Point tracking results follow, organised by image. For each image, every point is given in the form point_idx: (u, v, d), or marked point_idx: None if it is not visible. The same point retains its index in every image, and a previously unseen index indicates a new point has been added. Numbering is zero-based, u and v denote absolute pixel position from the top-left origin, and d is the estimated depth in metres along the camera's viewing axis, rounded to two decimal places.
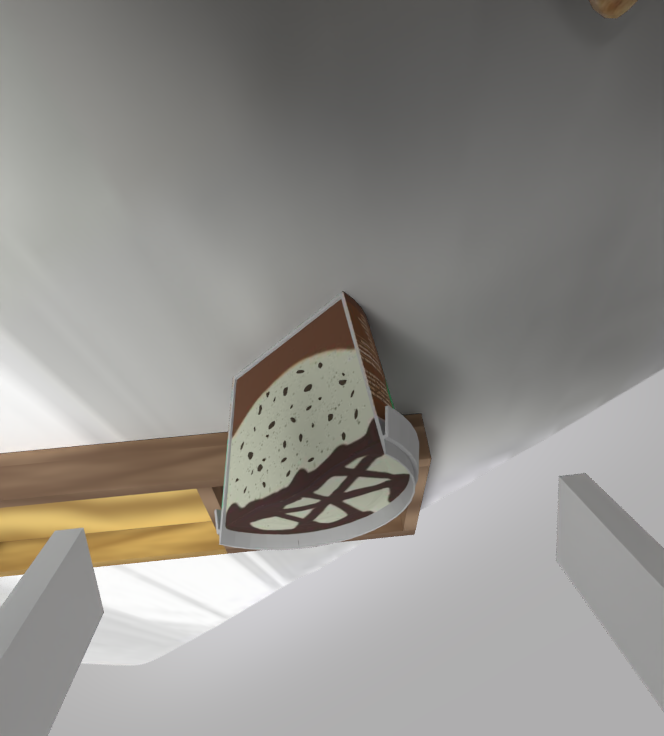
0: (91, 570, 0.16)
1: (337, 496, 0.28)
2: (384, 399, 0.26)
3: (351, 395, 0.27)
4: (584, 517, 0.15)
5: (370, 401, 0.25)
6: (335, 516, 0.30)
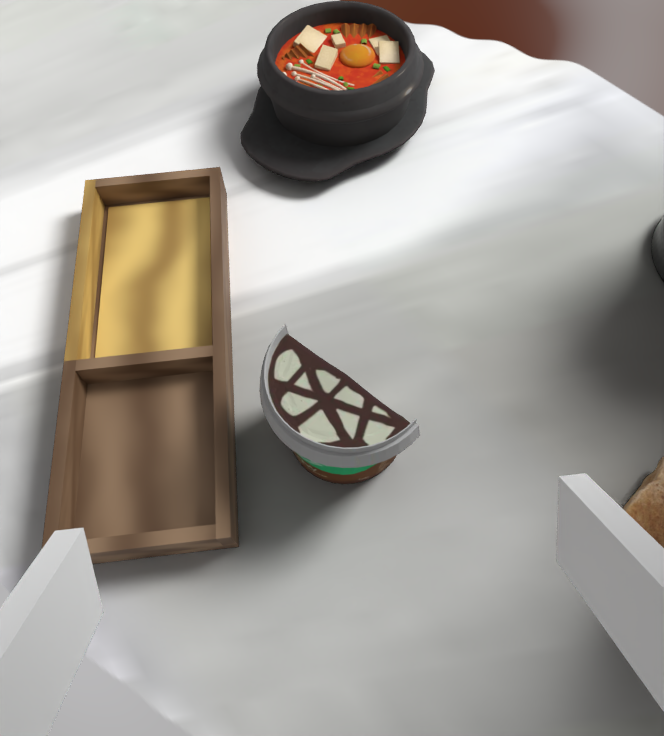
0: (91, 570, 0.16)
1: (330, 405, 0.38)
2: None
3: None
4: (584, 517, 0.15)
5: None
6: (292, 407, 0.38)
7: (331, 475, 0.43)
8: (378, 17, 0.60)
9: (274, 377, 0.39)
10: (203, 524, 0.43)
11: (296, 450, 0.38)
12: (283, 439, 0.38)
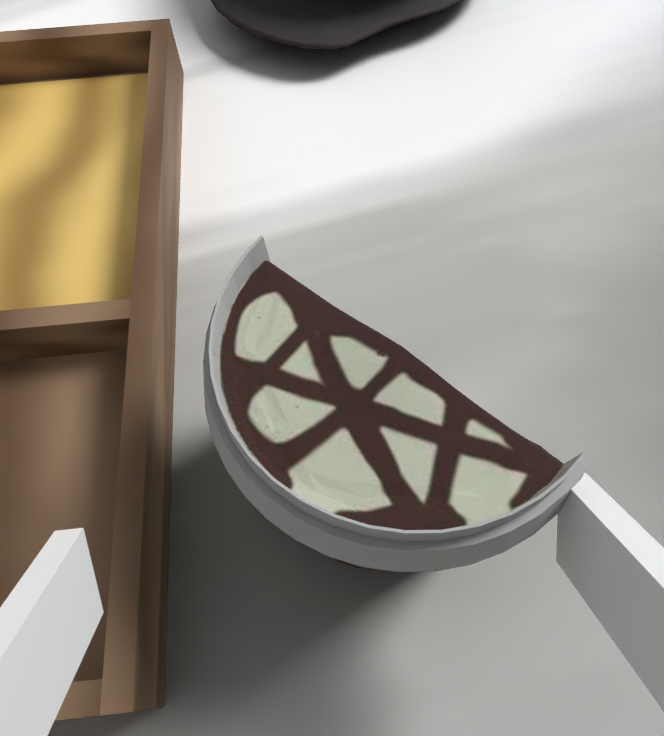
0: (91, 570, 0.16)
1: (365, 417, 0.16)
2: None
3: None
4: (584, 517, 0.15)
5: None
6: (274, 421, 0.16)
7: None
8: None
9: (235, 352, 0.17)
10: (90, 660, 0.21)
11: (284, 527, 0.16)
12: (253, 499, 0.16)
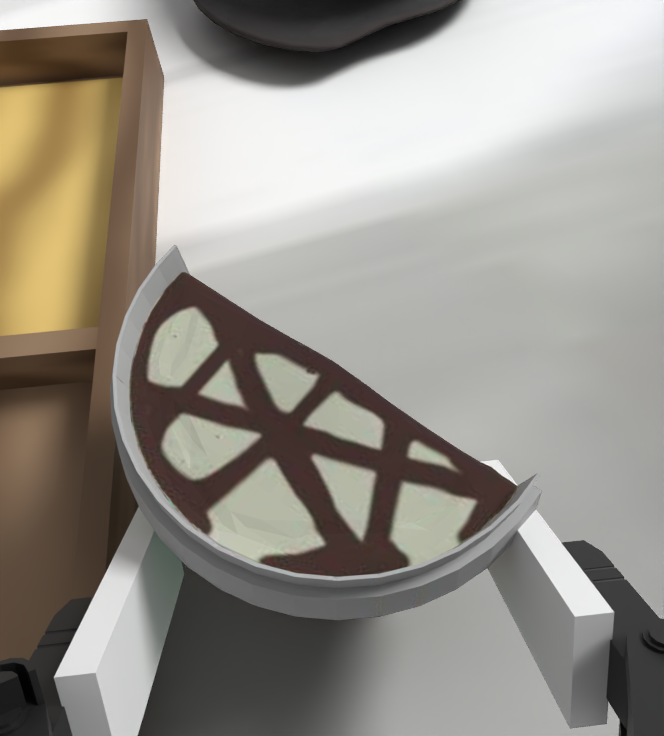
0: None
1: (295, 445, 0.14)
2: None
3: None
4: None
5: None
6: (191, 455, 0.14)
7: None
8: None
9: (147, 378, 0.15)
10: None
11: (206, 576, 0.14)
12: (170, 545, 0.14)
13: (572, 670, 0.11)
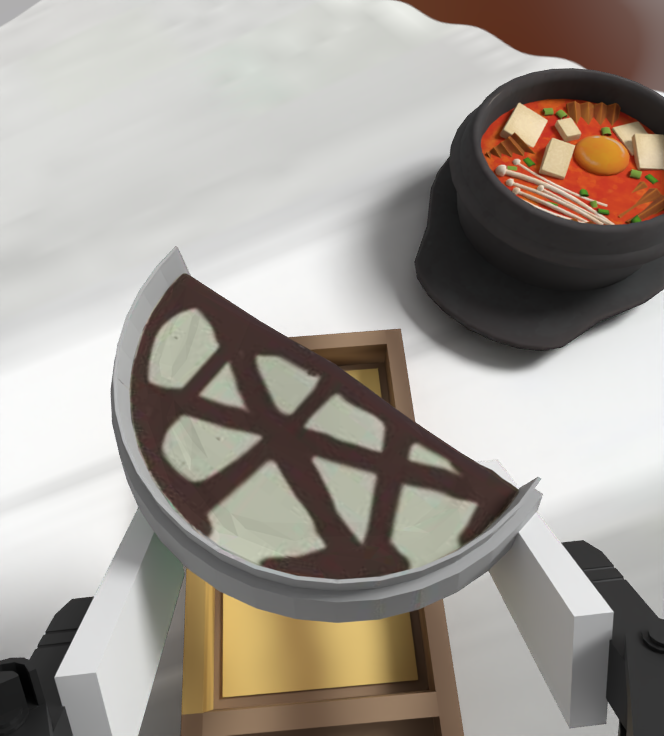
0: None
1: (296, 447, 0.14)
2: None
3: None
4: None
5: None
6: (192, 457, 0.14)
7: None
8: (629, 96, 0.40)
9: (148, 379, 0.15)
10: None
11: (206, 578, 0.14)
12: (170, 547, 0.14)
13: (571, 670, 0.11)
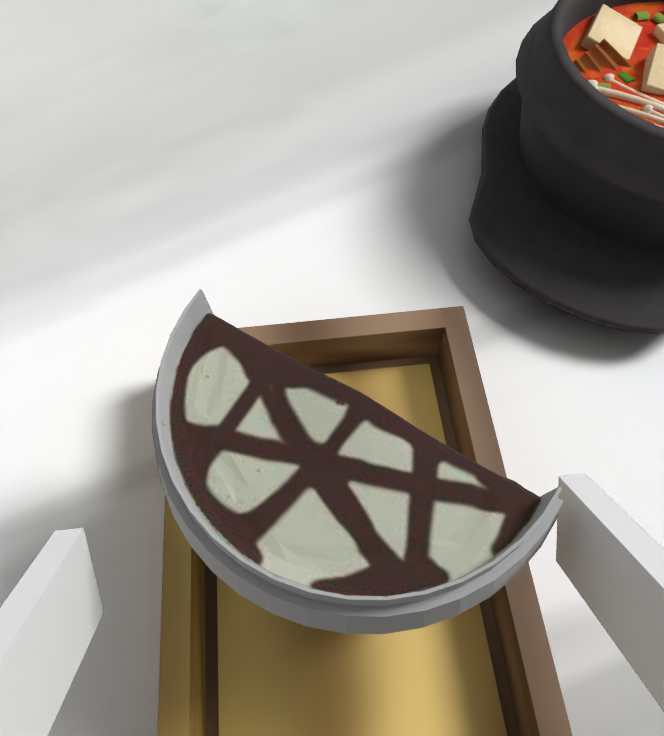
0: (91, 570, 0.16)
1: (332, 473, 0.15)
2: None
3: None
4: (584, 517, 0.15)
5: None
6: (236, 490, 0.15)
7: None
8: None
9: (186, 418, 0.16)
10: None
11: (259, 602, 0.15)
12: (222, 576, 0.15)
13: None
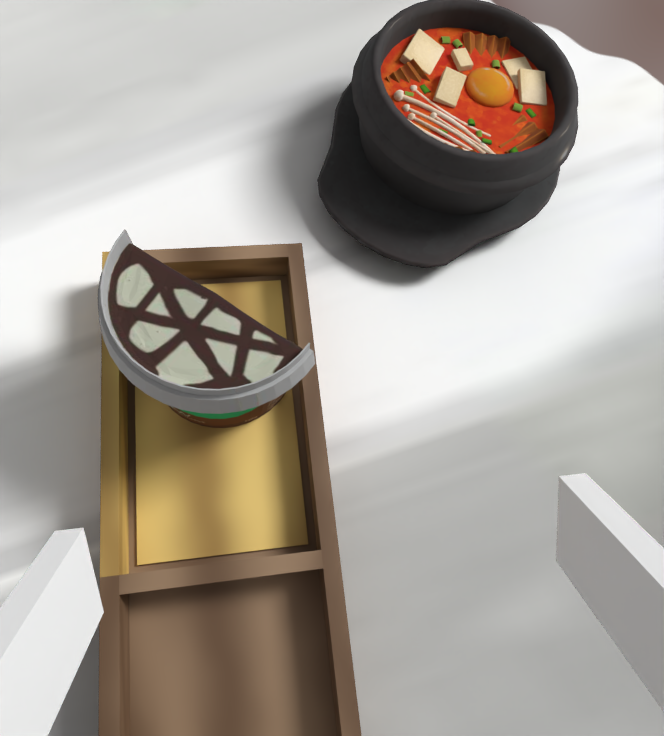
0: (91, 570, 0.16)
1: (197, 334, 0.29)
2: None
3: None
4: (584, 517, 0.15)
5: None
6: (145, 340, 0.29)
7: (210, 420, 0.35)
8: (518, 31, 0.43)
9: (117, 303, 0.29)
10: None
11: (157, 397, 0.29)
12: (137, 384, 0.29)
13: None
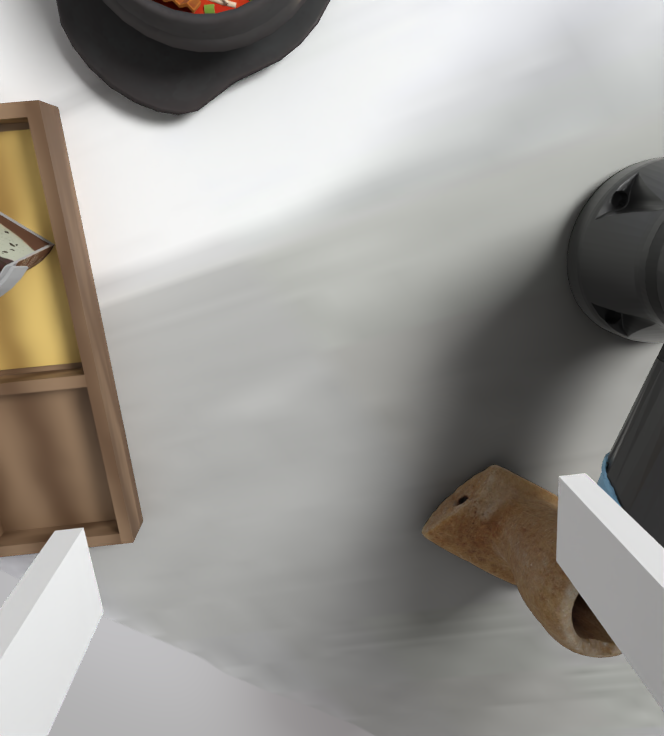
0: (91, 570, 0.16)
1: None
2: None
3: (11, 249, 0.39)
4: (584, 517, 0.15)
5: (20, 258, 0.39)
6: None
7: None
8: None
9: None
10: (110, 513, 0.53)
11: None
12: None
13: None
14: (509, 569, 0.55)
